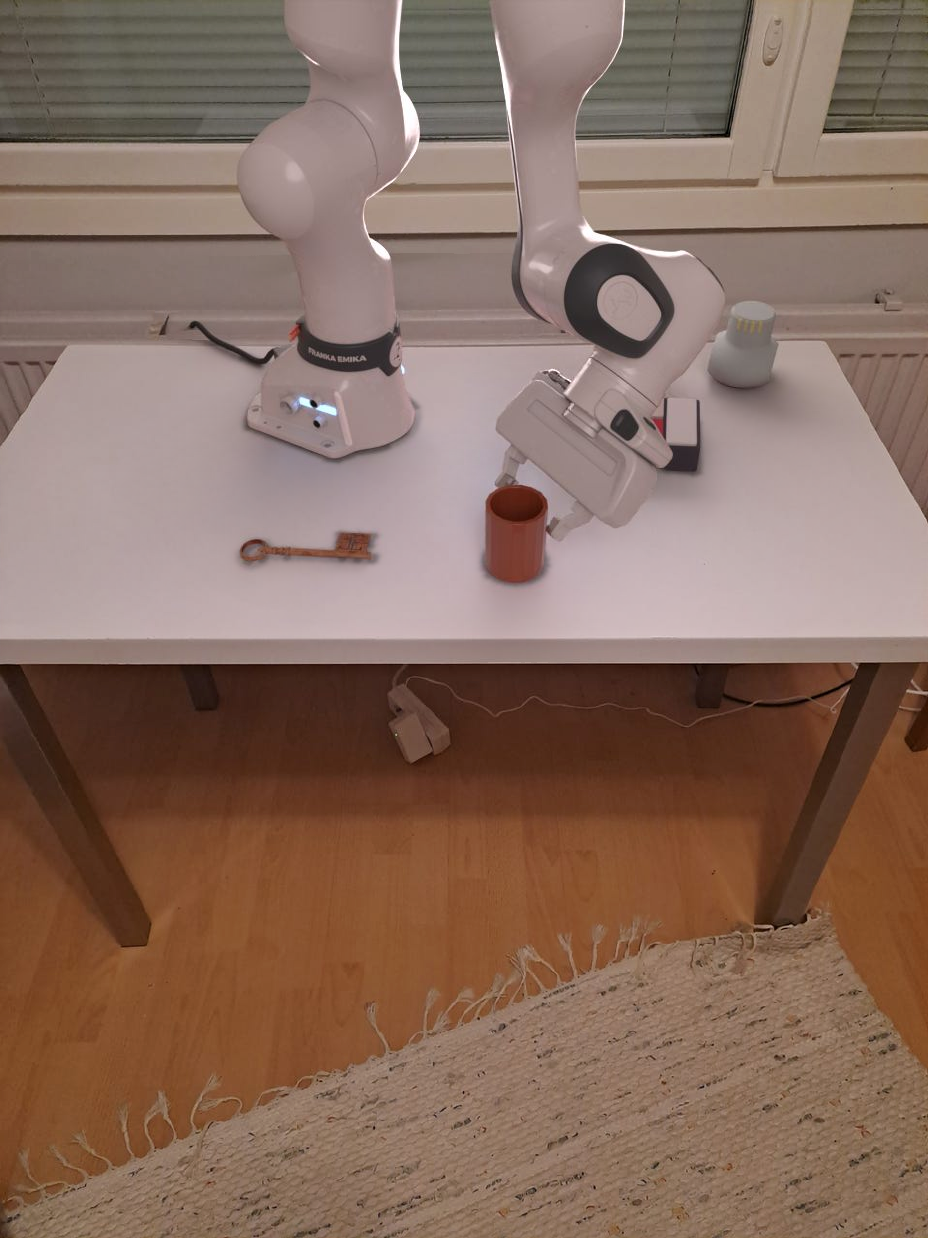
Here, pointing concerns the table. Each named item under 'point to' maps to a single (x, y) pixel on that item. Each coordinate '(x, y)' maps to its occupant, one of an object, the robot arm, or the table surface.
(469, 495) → the table surface
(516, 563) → the cup
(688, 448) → the calculator
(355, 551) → the key
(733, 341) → the air freshener
